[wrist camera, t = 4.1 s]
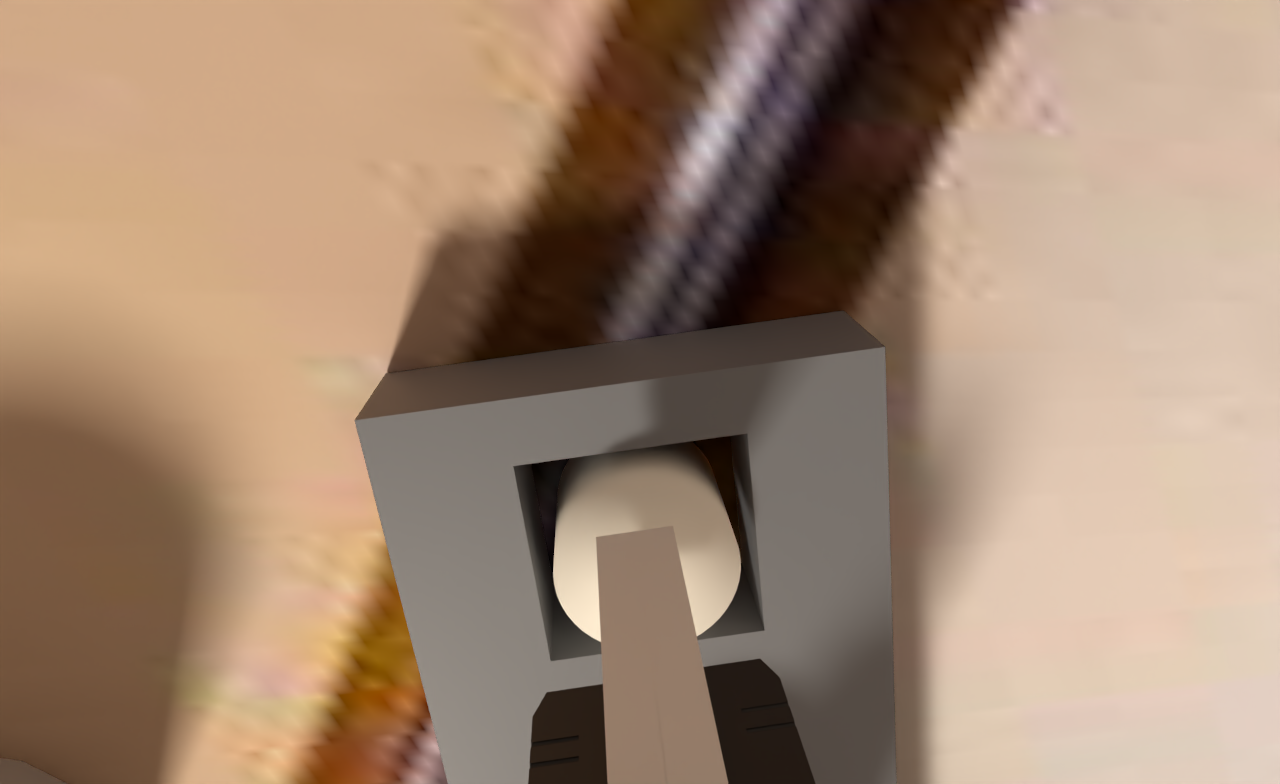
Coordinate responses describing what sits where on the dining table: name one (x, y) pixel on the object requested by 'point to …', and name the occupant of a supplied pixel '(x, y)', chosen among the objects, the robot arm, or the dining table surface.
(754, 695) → the robot arm
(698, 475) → the ivory button
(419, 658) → the panel
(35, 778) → the cup
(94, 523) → the dining table surface
